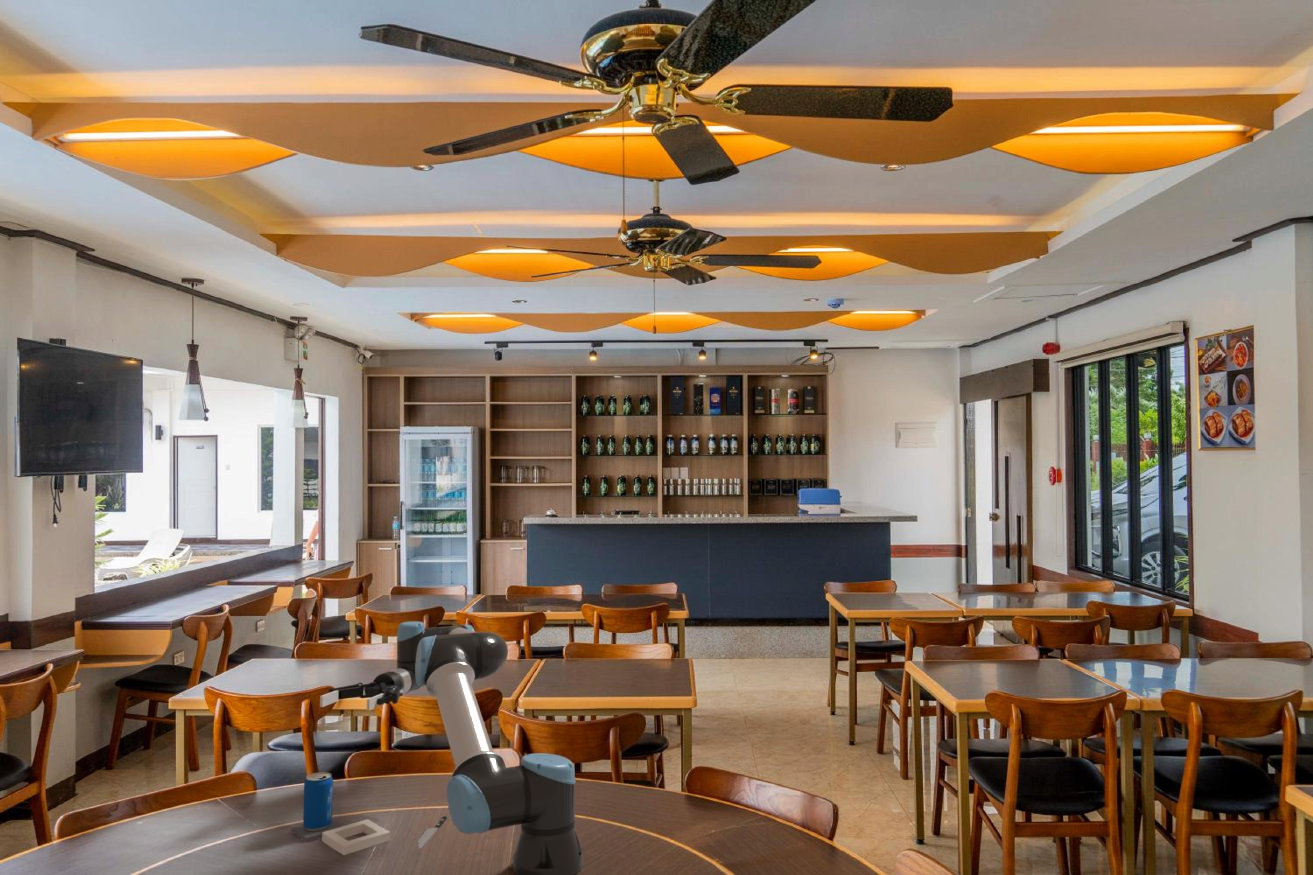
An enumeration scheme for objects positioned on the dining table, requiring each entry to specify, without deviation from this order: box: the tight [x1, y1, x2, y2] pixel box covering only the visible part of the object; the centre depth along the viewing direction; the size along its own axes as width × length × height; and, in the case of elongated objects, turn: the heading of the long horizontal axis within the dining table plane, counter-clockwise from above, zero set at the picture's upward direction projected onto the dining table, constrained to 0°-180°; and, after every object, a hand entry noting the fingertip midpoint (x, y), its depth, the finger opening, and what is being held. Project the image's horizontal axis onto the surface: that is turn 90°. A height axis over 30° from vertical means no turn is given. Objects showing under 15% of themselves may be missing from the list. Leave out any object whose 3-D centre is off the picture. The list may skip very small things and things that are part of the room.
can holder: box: [321, 818, 391, 856], centre depth 198 cm, size 11×11×2 cm
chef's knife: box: [417, 816, 448, 849], centre depth 203 cm, size 19×1×3 cm
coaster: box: [290, 819, 343, 843], centre depth 204 cm, size 9×9×1 cm
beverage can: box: [302, 771, 334, 831], centre depth 205 cm, size 6×6×12 cm
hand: (344, 703), depth 215 cm, fingers open, 13 cm apart
